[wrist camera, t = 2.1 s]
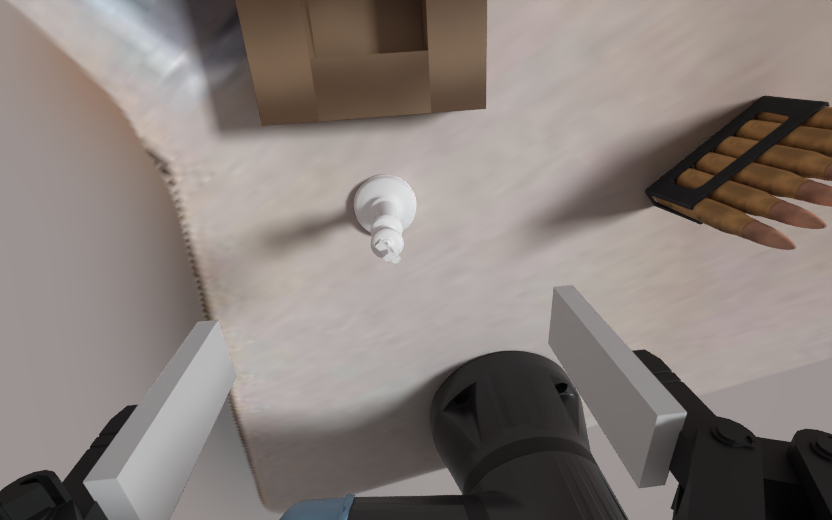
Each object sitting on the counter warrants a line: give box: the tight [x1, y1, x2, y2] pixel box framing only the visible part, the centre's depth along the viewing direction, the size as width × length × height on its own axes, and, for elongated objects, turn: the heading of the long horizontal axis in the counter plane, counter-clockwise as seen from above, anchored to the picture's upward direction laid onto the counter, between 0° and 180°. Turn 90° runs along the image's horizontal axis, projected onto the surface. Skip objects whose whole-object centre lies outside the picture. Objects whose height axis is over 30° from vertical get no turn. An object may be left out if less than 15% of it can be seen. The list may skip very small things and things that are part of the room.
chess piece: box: [354, 174, 416, 265], centre depth 27 cm, size 5×5×10 cm
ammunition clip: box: [645, 96, 832, 250], centre depth 27 cm, size 11×2×12 cm, turn 133°
